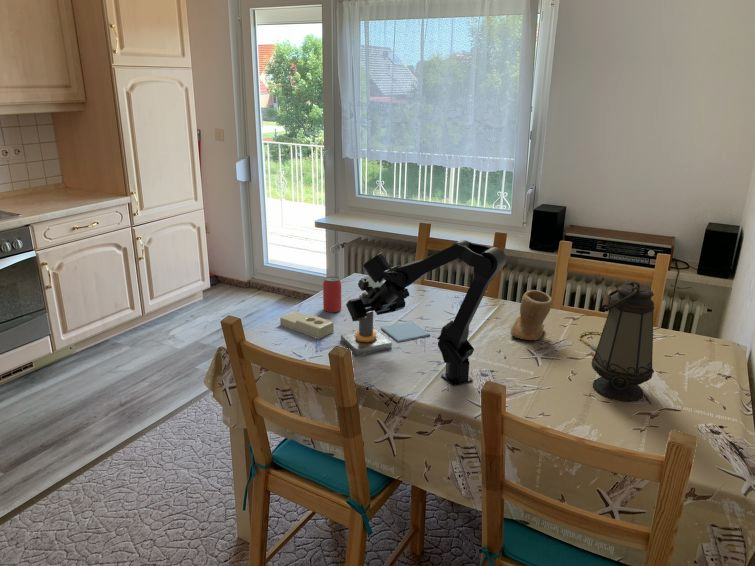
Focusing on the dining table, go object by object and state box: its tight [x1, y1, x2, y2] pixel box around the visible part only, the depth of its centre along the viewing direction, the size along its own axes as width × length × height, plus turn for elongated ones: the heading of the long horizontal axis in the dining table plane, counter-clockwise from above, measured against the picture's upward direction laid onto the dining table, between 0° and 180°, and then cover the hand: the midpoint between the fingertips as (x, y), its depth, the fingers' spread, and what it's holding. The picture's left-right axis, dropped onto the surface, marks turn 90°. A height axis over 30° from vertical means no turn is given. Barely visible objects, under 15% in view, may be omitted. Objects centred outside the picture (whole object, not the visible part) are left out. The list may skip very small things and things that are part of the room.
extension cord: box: [578, 331, 602, 352], centre depth 176 cm, size 12×16×2 cm
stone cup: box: [510, 289, 553, 341], centre depth 180 cm, size 15×12×15 cm
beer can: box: [322, 275, 342, 313], centre depth 198 cm, size 7×7×12 cm
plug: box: [355, 291, 376, 343], centre depth 170 cm, size 6×6×17 cm
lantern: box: [591, 280, 655, 403], centre depth 143 cm, size 18×15×30 cm
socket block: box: [340, 328, 393, 356], centre depth 172 cm, size 12×12×2 cm
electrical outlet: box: [279, 311, 335, 340], centre depth 183 cm, size 7×4×18 cm
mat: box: [380, 320, 431, 343], centre depth 182 cm, size 12×12×1 cm
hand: (365, 316), depth 170 cm, fingers open, 9 cm apart
